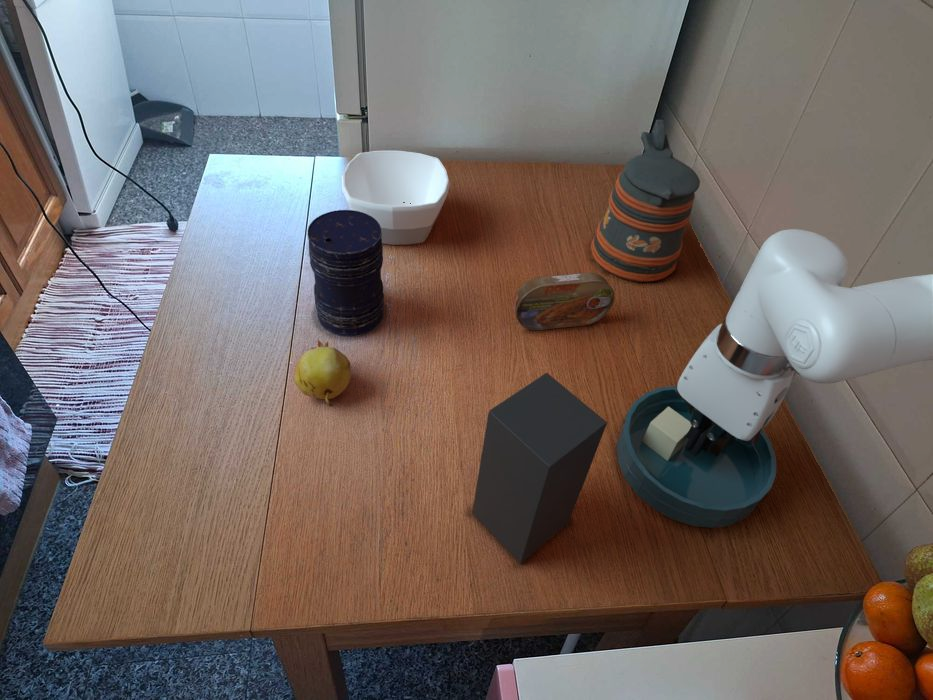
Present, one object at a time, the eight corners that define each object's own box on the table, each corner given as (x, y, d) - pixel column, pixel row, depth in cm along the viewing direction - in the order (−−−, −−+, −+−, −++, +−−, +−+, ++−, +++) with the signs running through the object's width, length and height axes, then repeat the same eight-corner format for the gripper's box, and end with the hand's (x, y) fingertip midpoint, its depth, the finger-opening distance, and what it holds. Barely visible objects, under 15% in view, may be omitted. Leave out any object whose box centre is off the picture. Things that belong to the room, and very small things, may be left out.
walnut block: (734, 440, 84) (746, 422, 81) (717, 456, 82) (729, 438, 79) (708, 421, 86) (719, 402, 83) (691, 436, 84) (701, 417, 81)
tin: (513, 333, 96) (521, 289, 90) (508, 318, 98) (515, 275, 92) (608, 324, 99) (621, 281, 92) (601, 310, 101) (613, 267, 95)
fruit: (358, 386, 79) (352, 328, 85) (300, 382, 76) (298, 323, 83) (346, 420, 83) (342, 363, 90) (291, 418, 81) (291, 359, 87)
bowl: (447, 199, 119) (450, 152, 112) (446, 259, 106) (450, 211, 100) (350, 193, 118) (347, 146, 111) (338, 253, 105) (333, 204, 99)
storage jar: (352, 282, 101) (347, 200, 90) (398, 313, 97) (398, 231, 86) (302, 314, 95) (290, 230, 84) (348, 347, 91) (342, 264, 80)
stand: (569, 522, 74) (607, 422, 61) (520, 564, 70) (549, 467, 57) (520, 476, 78) (546, 372, 65) (471, 513, 74) (488, 410, 61)
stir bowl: (788, 473, 82) (804, 452, 78) (707, 559, 73) (722, 540, 69) (671, 386, 91) (681, 365, 87) (586, 454, 81) (594, 432, 78)
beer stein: (582, 214, 119) (608, 109, 104) (660, 219, 119) (696, 116, 105) (596, 280, 106) (627, 171, 91) (684, 286, 106) (728, 179, 92)
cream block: (685, 444, 83) (695, 425, 80) (667, 461, 81) (677, 442, 78) (659, 425, 85) (668, 406, 82) (641, 441, 83) (650, 422, 80)
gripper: (840, 369, 65) (765, 471, 78) (714, 290, 72) (665, 395, 85) (804, 405, 61) (731, 505, 74) (675, 317, 68) (630, 423, 81)
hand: (696, 446), depth 80 cm, fingers closed
